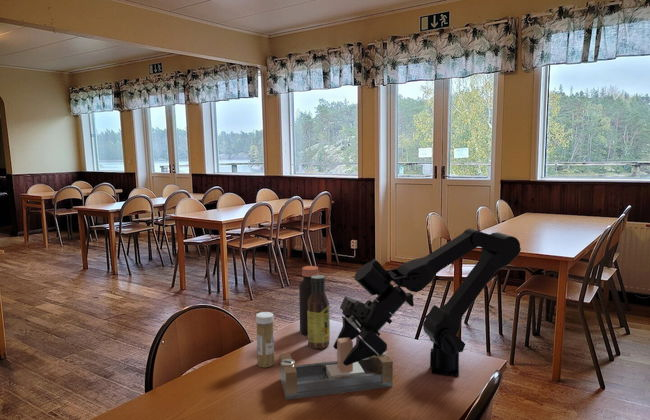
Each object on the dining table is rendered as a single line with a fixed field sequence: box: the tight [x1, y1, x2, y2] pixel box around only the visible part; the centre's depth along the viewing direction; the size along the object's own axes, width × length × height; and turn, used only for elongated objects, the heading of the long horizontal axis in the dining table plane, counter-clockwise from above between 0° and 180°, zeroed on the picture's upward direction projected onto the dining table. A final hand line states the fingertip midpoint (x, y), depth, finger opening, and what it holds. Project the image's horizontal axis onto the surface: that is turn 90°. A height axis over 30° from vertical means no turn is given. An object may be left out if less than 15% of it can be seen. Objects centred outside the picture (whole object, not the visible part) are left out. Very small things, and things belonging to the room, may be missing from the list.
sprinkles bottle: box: [255, 311, 275, 368], centre depth 124 cm, size 5×5×13 cm
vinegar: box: [298, 265, 319, 337], centre depth 145 cm, size 7×7×20 cm
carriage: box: [326, 337, 365, 378], centre depth 114 cm, size 8×6×9 cm
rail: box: [279, 350, 394, 401], centre depth 114 cm, size 26×10×7 cm, turn 103°
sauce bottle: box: [307, 275, 331, 350], centre depth 135 cm, size 7×6×20 cm
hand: (339, 355), depth 114 cm, fingers open, 9 cm apart
